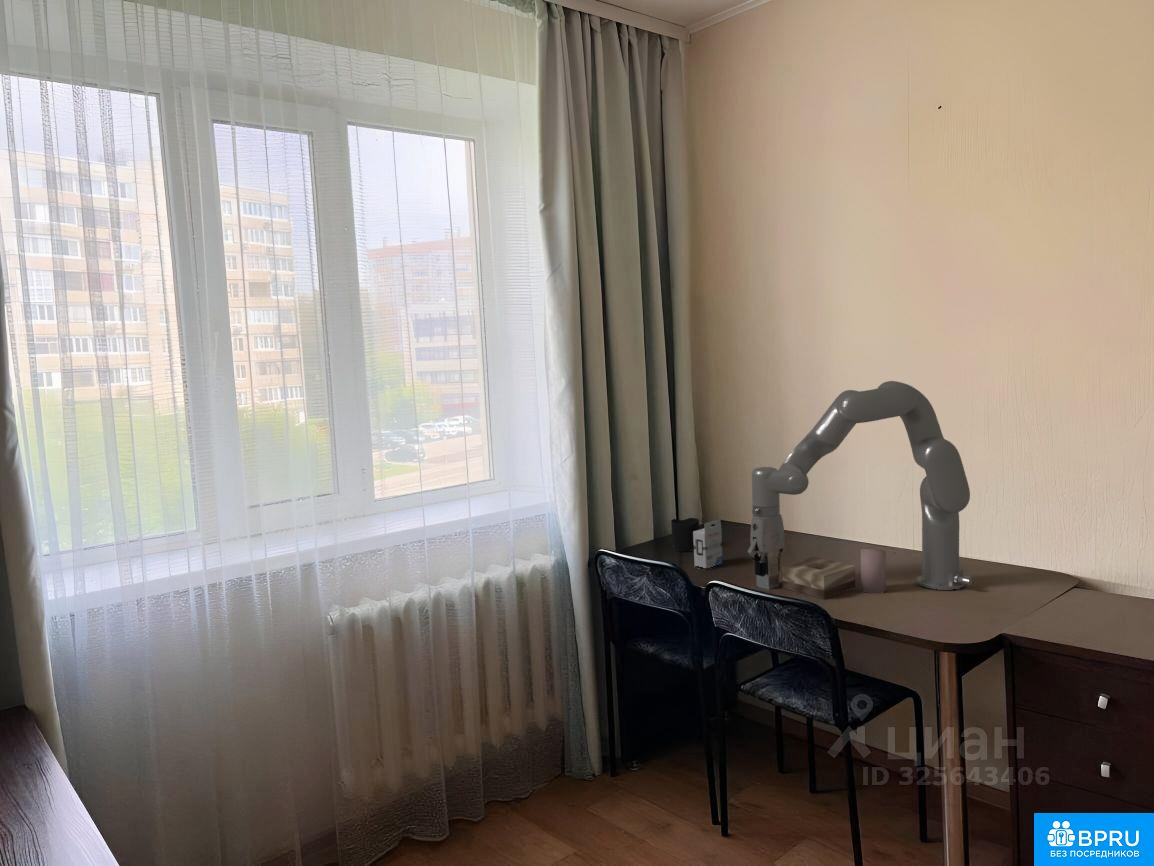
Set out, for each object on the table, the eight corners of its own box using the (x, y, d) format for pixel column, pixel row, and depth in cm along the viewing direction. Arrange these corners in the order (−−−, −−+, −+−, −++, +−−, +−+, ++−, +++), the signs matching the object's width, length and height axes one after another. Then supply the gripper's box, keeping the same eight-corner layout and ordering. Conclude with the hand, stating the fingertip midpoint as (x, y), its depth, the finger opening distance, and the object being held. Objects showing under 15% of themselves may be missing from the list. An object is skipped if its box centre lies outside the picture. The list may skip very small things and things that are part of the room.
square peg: (778, 586, 242) (778, 548, 240) (768, 589, 239) (767, 551, 238) (766, 583, 245) (765, 546, 244) (756, 586, 242) (755, 548, 241)
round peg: (890, 590, 233) (890, 551, 232) (877, 595, 230) (876, 555, 228) (869, 585, 239) (869, 547, 237) (856, 590, 235) (855, 551, 233)
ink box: (710, 561, 270) (709, 516, 269) (723, 564, 267) (721, 518, 265) (693, 567, 265) (692, 521, 263) (706, 570, 261) (704, 523, 259)
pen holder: (680, 544, 294) (679, 516, 293) (704, 547, 289) (703, 518, 288) (667, 550, 287) (666, 522, 285) (691, 554, 281) (690, 524, 280)
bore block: (855, 588, 236) (854, 565, 236) (824, 599, 228) (823, 576, 227) (813, 578, 247) (813, 556, 247) (782, 588, 239) (782, 566, 238)
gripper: (756, 517, 231) (757, 582, 233) (796, 507, 242) (797, 569, 244) (735, 514, 237) (737, 576, 239) (775, 504, 248) (776, 564, 250)
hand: (767, 572), depth 242 cm, fingers open, 5 cm apart
